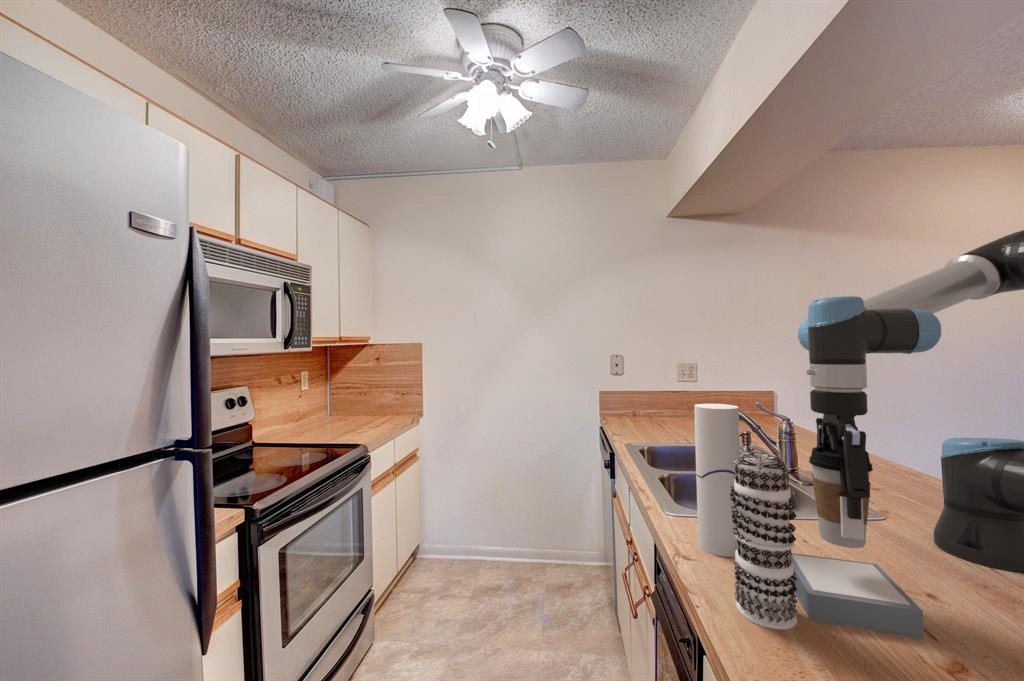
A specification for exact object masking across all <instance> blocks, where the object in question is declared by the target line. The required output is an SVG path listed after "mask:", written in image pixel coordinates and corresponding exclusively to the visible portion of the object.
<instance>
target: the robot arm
mask: <svg viewBox="0 0 1024 681" xmlns="http://www.w3.org/2000/svg"><path fill="white" fill-rule="evenodd" d="M1022 290H1023V291H1024V229H1022V230H1020V231H1016V232H1013V233H1010V234H1007V235H1004V236H1003V237H1002V236H1001V237H1000V238H998V239H995V240H992V241H990V242H988V243H986V244H983V245H980V246H979V247H976V248H974V249H972V250H970V251H967V252H964V253H963V254H960V255H957V256H955V257H953V258H952V259H950V260H948V262H947V263H946V264H945V266H944V267H941V268H940V269H936V270H934V271H932V272H930V273H927V274H925V275H923V276H920V277H917V278H915V279H912V280H910V281H908V282H906V283H902V284H901V285H898V286H895V287H894V288H891V289H888V290H886V291H883V292H881V293H879V294H876V295H874V296H872V297H869V298H866V299H863V298H862V297H860V296H854V295H853V296H852V295H848V296H847V295H845V296H830V297H821V298H815V299H814V300H812V301H810V303H809V304H808V309H807V318H806V319H805V320H804V321H802V323H801V324H800V326H799V327H798V329H797V338H798V339H797V340H798V341H799V344H800V345H801V347H802V348H803V349H805V350H807V351H808V356H809V357H808V358H809V369H807V370H805V373H806V375H808V376H809V382H810V383H809V385H810V386H811V387H813V388H814V389H811V391H810V392H809V396H810V397H809V398H810V410H811V411H812V412H814V413H818V414H822V417H817V418H816V419H815V423H816V432H817V433H816V447H818V446H825V451H833V452H835V453H836V456H839V457H844V460H845V463H843V462H842V461H840V466H841V471H840V480H841V485H842V492H837V494H838V496H840V514H841V536H842V537H844V538H853V539H861V540H864V521H863V498H869V499H870V498H871V487H870V488H869V482H870V477H869V478H868V468H867V458H866V451H867V449H866V448H867V447H866V446H867V445H866V444H867V443H866V442H867V433H866V431H863V430H861V431H860V430H858V426H857V425H856V422H855V421H856V420H855V417H857V416H865V415H867V413H868V394H867V393H866V392H865V391H863V390H865V389H866V388H868V377H867V376H868V375H867V373H868V372H867V371H868V370H867V360H866V359H867V358H866V357H867V354H908V355H911V354H913V353H914V354H915V353H925V352H927V351H930V350H932V349H933V348H935V346H937V344H938V343H939V342H940V339H941V337H942V325H941V321H940V320H939V319H938V318H939V317H937V315H935V314H936V313H938V312H941V311H943V310H945V309H948V308H950V307H953V306H954V305H958V304H960V303H963V302H965V301H967V300H972V301H973V300H974V301H976V300H983V299H985V298H989V297H991V296H994V295H997V294H1003V293H1010V292H1015V291H1016V292H1017V291H1022ZM940 463H941V464H940V465H941V466H940V467H941V477H942V478H941V479H942V494H943V509H942V511H941V513H940V515H939V518H938V520H937V522H936V524H935V527H934V529H933V543H934V545H936V546H937V547H938V548H939V549H941V550H942V551H944V552H946V553H949V554H950V555H953V556H955V557H958V558H961V559H964V560H966V561H969V562H972V563H976V564H980V565H982V566H988V567H991V568H996V569H1001V570H1007V571H1014V572H1020V573H1024V440H1020V439H1013V438H997V437H996V438H995V437H952V438H946V439H945V440H944V441H943V442H942V443H941V456H940ZM855 488H857V489H855Z"/></svg>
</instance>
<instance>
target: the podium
mask: <svg viewBox="0 0 1024 681" xmlns="http://www.w3.org/2000/svg"><path fill="white" fill-rule="evenodd" d="M791 553H792V554H791V556H792V557H791V560H792V562H793V572H794V573H795V577H796V578H797V580H796V581H794V582H795V587H796V588H797V591H794V594H796V598H797V600H799V603H800V604H801V606H802V608H803V610H804V613H805V615H807V616H806V617H807V618H808V619H809V620H810V621H813V622H814V621H816V622H822V623H826V624H827V623H828V624H832V625H833V624H834V625H839V626H845V627H851V628H854V629H855V628H857V629H862V630H868V631H873V632H874V631H875V632H880V633H885V634H892V635H896V636H897V635H899V636H903V637H908V638H909V637H910V638H916V639H920V640H921V639H922V640H925V629H924V627H925V626H924V624H925V623H924V610H922V609H921V608H920V606H918V605H917V603H915V601H913V599H911V598H910V596H909V595H908V594H907V593H906V592H905V591H904V590H903V589H902V588H901V586H899V585H898V584H897V583H896V582H895V581H894V580H893V579H892V578H891V576H889V575H888V574H887V573H886V572H885V571H884V570H883V568H881V567H880V565H878V563H873V562H871V563H870V562H863V561H858V560H857V561H856V560H849V559H840V558H834V557H825V556H819V555H818V556H816V555H810V554H809V555H808V554H800V553H793V552H791Z"/></svg>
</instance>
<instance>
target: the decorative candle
mask: <svg viewBox="0 0 1024 681" xmlns="http://www.w3.org/2000/svg"><path fill="white" fill-rule="evenodd" d="M733 464H734V465H735V480H734V486H732V487H730V488H731V489H730V490H731V491H732V492H731V493H730V496H731V497H730V499H731V500H732V501H733V505H732V506H731V509H732V513H733V514H732V522H734V523H735V526H734V527H733V530H734V532H733V533H734V536H735V537H736V538H737V546H738V549H737V550H736V551H737V561H735V560H734V569H735V571H734V575H735V576H734V578H735V582H734V586H735V587H734V588H735V592H734V595H735V602H736V604H735V605H736V610H737V611H738V612H739V614H740V615H741V616H743V617H744V618H745V619H746V620H748V621H749V622H752V623H754V624H756V625H759V626H760V627H763V628H767V629H772V630H790V629H793V628H794V627H796V625H797V624H798V619H797V614H798V613H799V611H798V609H797V605H796V604H797V603H798V600H799V599H798V598H797V595H796V594H795V592H794V591H797V588H796V587H795V582H794V581H796V580H797V578H796V577H795V573H794V572H793V562H792V560H791V557H792V556H791V554H792V553H793V552H792V549H793V548H795V546H796V545H795V542H796V541H797V538H796V537H795V535H794V534H793V533H794V532H795V531H796V526H795V525H794V524H793V523H791V522H790V521H791V520H792V521H793V520H794V519H796V518H797V514H796V513H795V512H794V511H792V510H794V509H796V507H797V504H796V503H795V502H794V501H792V500H791V497H792V494H791V493H792V492H791V487H790V486H791V485H790V483H789V482H790V478H789V477H790V476H789V471H791V470H792V468H791V467H790V466H789V465H787V464H786V463H785V462H784V460H783V459H782V458H781V457H780V456H777V455H775V454H771V453H766V452H759V451H755V452H752V451H750V452H744V453H741V454H740V456H739V458H738V459H737V460H735V461H733ZM734 488H735V489H734ZM735 495H736V496H737V500H736V497H735ZM736 507H737V508H736ZM737 519H738V520H737ZM736 570H737V571H736Z"/></svg>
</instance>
